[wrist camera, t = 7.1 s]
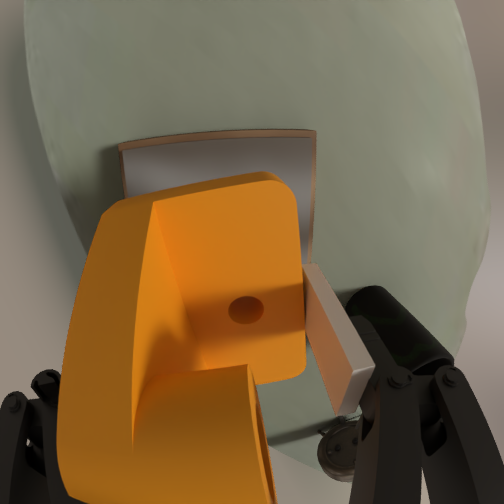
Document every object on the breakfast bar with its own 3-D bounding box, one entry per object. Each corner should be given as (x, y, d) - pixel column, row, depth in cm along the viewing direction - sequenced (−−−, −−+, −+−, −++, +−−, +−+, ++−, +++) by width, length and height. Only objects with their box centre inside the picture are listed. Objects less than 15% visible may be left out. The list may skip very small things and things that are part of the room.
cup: (399, 269, 27) (465, 342, 17) (393, 321, 31) (441, 393, 20) (334, 287, 27) (386, 378, 17) (335, 340, 31) (373, 424, 20)
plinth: (128, 141, 19) (115, 144, 17) (306, 129, 20) (319, 131, 18) (153, 293, 26) (147, 312, 23) (301, 283, 27) (309, 301, 24)
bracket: (296, 343, 17) (352, 528, 6) (183, 360, 17) (174, 546, 6) (279, 164, 12) (511, 402, 1) (123, 196, 12) (-60, 426, 1)
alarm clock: (313, 435, 42) (333, 510, 28) (308, 425, 40) (329, 508, 25) (369, 415, 42) (398, 486, 27) (369, 402, 39) (402, 481, 25)
